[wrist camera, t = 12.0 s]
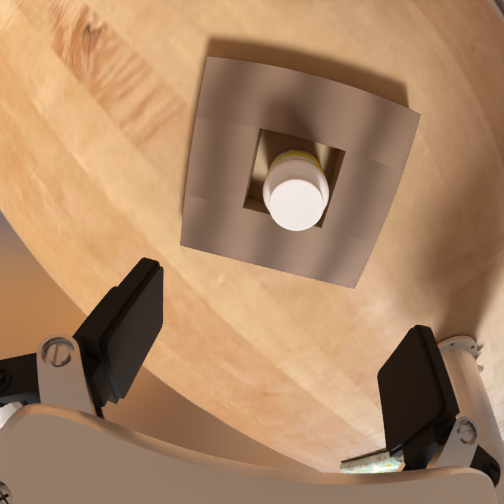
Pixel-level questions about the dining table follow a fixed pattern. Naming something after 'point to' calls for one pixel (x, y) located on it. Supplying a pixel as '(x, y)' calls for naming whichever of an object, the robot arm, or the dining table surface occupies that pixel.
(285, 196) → the supplement bottle
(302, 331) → the dining table surface
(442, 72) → the dining table surface
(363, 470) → the towel
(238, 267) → the dining table surface
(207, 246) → the walnut board
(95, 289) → the dining table surface
